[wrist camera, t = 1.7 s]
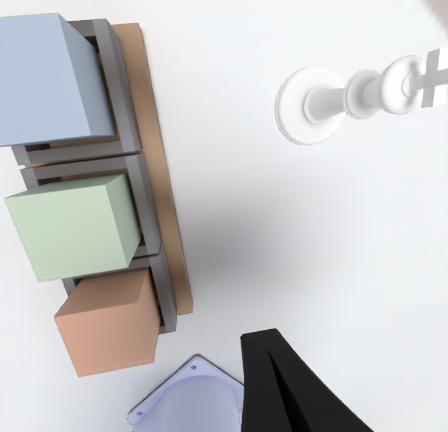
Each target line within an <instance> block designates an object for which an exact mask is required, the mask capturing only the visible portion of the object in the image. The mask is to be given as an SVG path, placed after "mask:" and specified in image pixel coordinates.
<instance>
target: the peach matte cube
mask: <svg viewBox="0 0 448 432" xmlns="http://www.w3.org/2000/svg"><path fill="white" fill-rule="evenodd" d="M160 319H161V317H160V313H159V309H158V305H157V301H156V297H155V293H154V288H153V284H152V280H151V276H150V272H149V268H148V267H146V268H140V269H134V270H128V271H122V272H116V273H110V274H104V275H98V276H92V277H86V278H83V279H82V280H81V281H80V283H79V284H78V285H77V287H76V288H75V289H74V291H73V292H72V293H71V295H70V296H69V297H68V299H67V300H66V301H65V303H64V304H63V305H62V307H61V308H60V309H59V311H58V312H57V313H56V315H55V316H54V320H55V322H56V324H57V327H58V329H59V332H60V334H61V336H62V339H63V341H64V344H65V346H66V348H67V351H68V353H69V356H70V358H71V360H72V363H73V365H74V367H75V370H76V372H77V375H78V377H83V376H88V375H93V374H98V373H103V372H108V371H113V370H118V369H123V368H128V367H133V366H138V365H143V364H148V363H153V362H154V357H155V351H156V345H157V338H158V332H159V326H160Z"/></svg>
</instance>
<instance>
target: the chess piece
mask: <svg viewBox="0 0 448 432" xmlns="http://www.w3.org/2000/svg"><path fill="white" fill-rule="evenodd" d="M447 85H448V47H447V48H440V49H437V50H434V51H431V52H428V55H427V62H426V61H425V60H424V59H422V58H421V57H418V56H414V55H409V56H405V57H402V58H400V59H398V60H396V61H395V62H393V63H392V64H391V65H389V66H388V67H387V68H386V69H385V70H384V71H383V72H382V73H381V74H380V73H379V72H377V71H374V70H362V71H359V72H357V73H356V74H354V75H353V76H352V77H351V78H350V79H349V80H348V82H347V84H346V85H345V83H344V81H343V80H342V78H341V77H340V76H339V75H338V74H337V73H336V72H335V71H334V70H332V69H330V68H328V67H325V66H310V67H306V68H302V69H300V70H298V71H296V72H295V73H293V74H292V75H291V76H290V77H289V78H288V79H287V80H286V81H285V82H284V84H283V85H282V87H281V89H280V91H279V93H278V96H277V99H276V105H275V115H276V120H277V124H278V126H279V128H280V130H281V132H282V133H283V134H284V136H285V137H286V138H288V139H289V140H290V141H292V142H294V143H296V144H299V145H314V144H318V143H321V142H323V141H325V140H327V139H329V138H330V137H331V136H333V135H334V134H335V133H336V132H337V131H338V129H339V128H340V127H341V125H342V123H343V121H344V119H345V117H346V114H348V115H349V116H350V117H352V118H354V119H357V120H363V119H367V118H369V117H371V116H373V115H374V114H376V113H377V112H378V111H379V110H380V109H382V110H384V111H386V112H389V113H392V114H406V113H409V112H411V111H413V110H414V109H416V108H417V107H418V106H419V105H420V104H421V103H422V106H421V108H424V107H433V106H439V105H445V98H446V91H447Z"/></svg>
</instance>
